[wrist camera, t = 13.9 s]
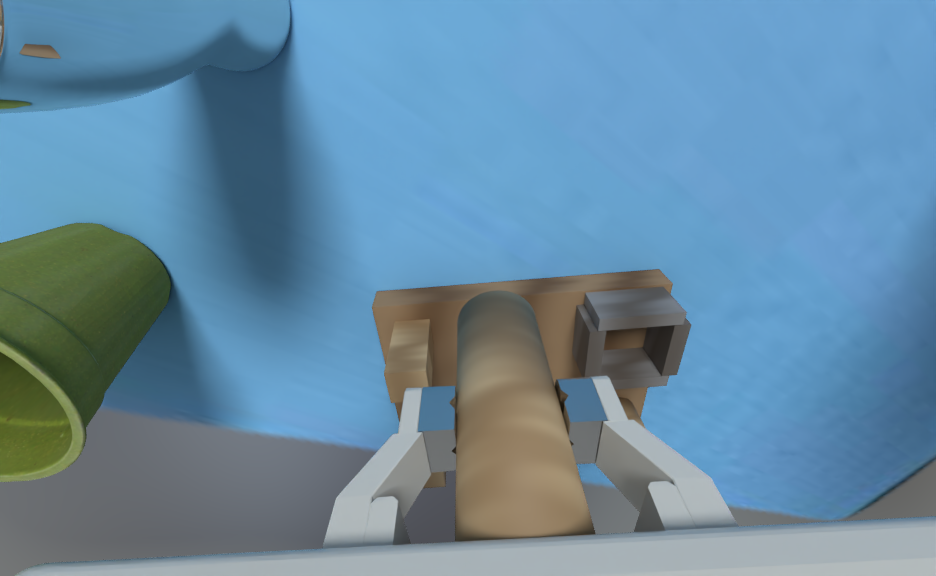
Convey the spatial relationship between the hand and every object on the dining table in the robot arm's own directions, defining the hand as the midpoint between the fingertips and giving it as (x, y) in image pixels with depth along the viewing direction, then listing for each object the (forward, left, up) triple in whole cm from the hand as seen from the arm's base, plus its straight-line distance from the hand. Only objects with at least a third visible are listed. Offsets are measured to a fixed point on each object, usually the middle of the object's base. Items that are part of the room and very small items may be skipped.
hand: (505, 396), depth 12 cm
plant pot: (+24, +2, -16) cm, 29 cm away
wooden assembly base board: (-3, +12, -15) cm, 20 cm away
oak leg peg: (0, 0, -4) cm, 4 cm away
